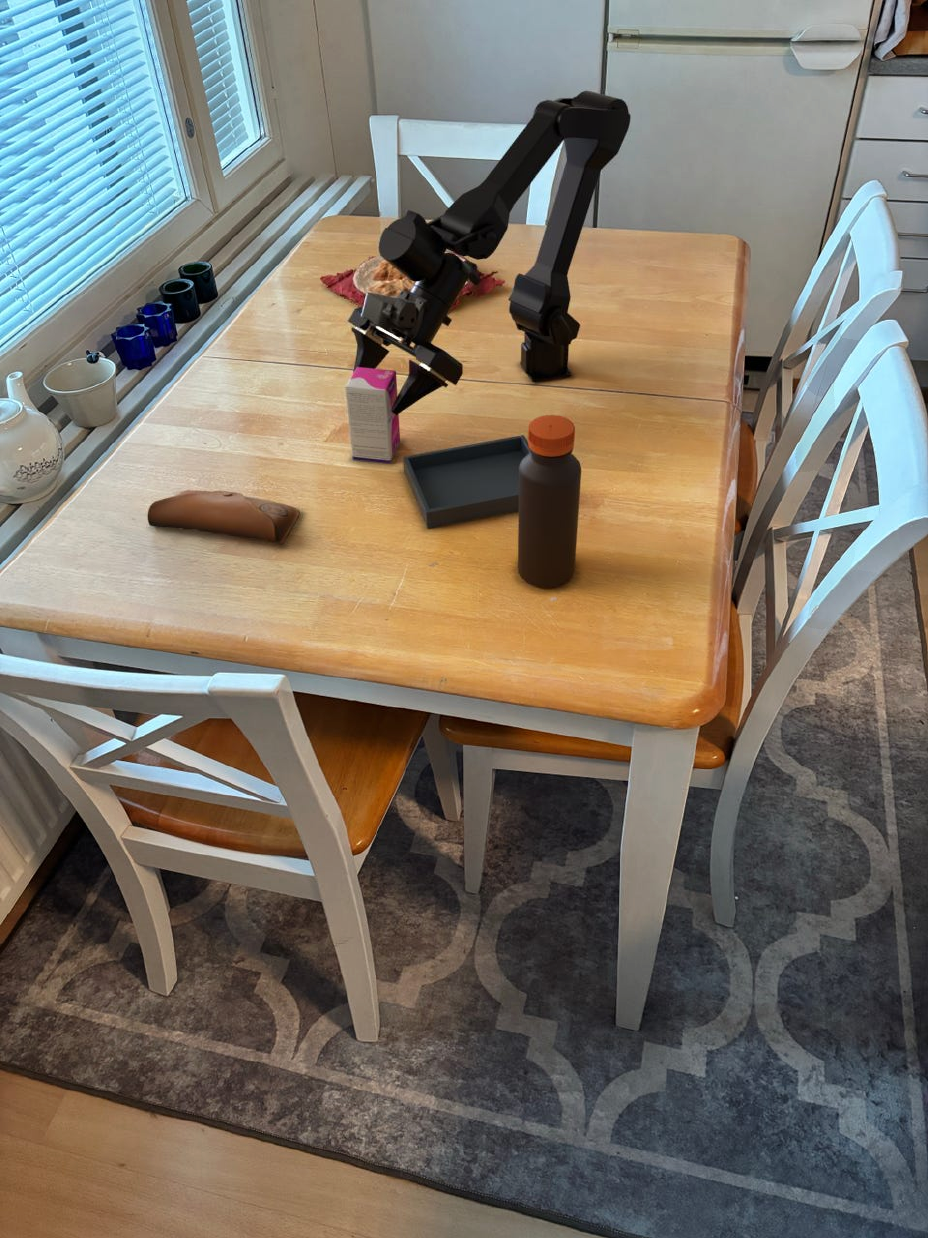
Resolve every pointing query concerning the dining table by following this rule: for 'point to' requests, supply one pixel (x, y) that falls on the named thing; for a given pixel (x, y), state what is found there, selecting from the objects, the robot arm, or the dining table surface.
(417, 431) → the dining table surface
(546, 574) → the bottle
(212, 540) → the dining table surface
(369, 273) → the plate with food
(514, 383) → the dining table surface
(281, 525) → the sunglasses case
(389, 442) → the supplement box
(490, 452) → the serving tray
